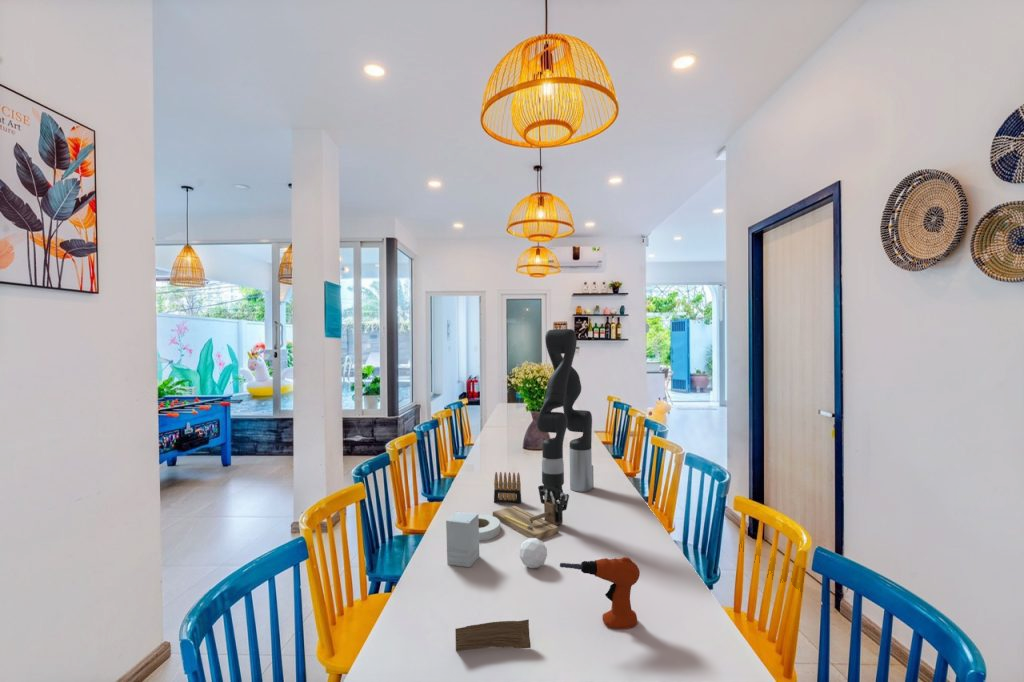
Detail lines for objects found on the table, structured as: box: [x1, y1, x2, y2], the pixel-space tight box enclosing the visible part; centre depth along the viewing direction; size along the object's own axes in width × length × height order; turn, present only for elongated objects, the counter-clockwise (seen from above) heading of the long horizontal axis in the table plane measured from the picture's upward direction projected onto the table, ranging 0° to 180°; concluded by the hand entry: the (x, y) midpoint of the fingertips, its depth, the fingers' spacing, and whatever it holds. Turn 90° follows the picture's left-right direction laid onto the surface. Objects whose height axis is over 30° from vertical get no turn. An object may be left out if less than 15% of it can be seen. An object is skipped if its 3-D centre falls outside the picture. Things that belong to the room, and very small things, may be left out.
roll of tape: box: [477, 513, 501, 541], centre depth 151 cm, size 16×15×3 cm
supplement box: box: [445, 511, 480, 568], centre depth 131 cm, size 7×7×13 cm
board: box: [492, 505, 559, 540], centre depth 155 cm, size 10×24×2 cm, turn 36°
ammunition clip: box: [493, 471, 522, 505], centre depth 177 cm, size 11×2×12 cm, turn 82°
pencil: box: [504, 515, 533, 530], centre depth 152 cm, size 1×14×1 cm, turn 41°
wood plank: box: [455, 619, 532, 652], centre depth 93 cm, size 15×2×5 cm, turn 97°
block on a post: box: [529, 500, 564, 526], centre depth 153 cm, size 12×4×7 cm, turn 125°
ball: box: [519, 538, 548, 569], centre depth 127 cm, size 8×8×8 cm
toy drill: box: [559, 556, 641, 630], centre depth 101 cm, size 5×19×15 cm, turn 93°
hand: (553, 519), depth 155 cm, fingers closed on block on a post, 4 cm apart
